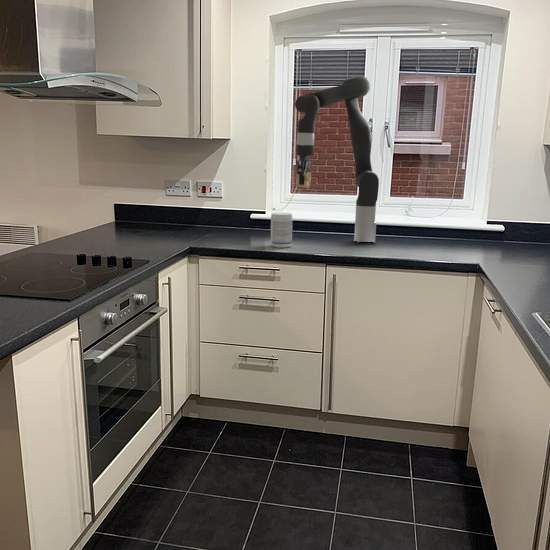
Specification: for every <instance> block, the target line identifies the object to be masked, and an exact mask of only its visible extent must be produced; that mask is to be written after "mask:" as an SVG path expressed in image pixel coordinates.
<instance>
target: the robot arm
mask: <svg viewBox="0 0 550 550" xmlns="http://www.w3.org/2000/svg"><path fill="white" fill-rule="evenodd" d="M370 87H371V84H370V81H369V80H368V78H367V77H365V76H363V75H357V76H353V77H349V78H346V79H344V81H343V84H341V85H337V86H333V87H332V86H331V87H327V88H324V89H321V90H318V91H316V92H312V93H306V94H302V95H300V96H298V97H296V99H295V101H294V107H295V109H296V111H298V112H299V113H303V114H304V116H303V117H302V118H300V119H299V120H298V121H297V133H296V134H297V135H296V147H295V154H296V156H299V159H298V160H297V161H296V163H297V164H296V166H297V167H296V169H297V170H296V175H297V174H298V175H299V185H304V178H305V172H308V173H311V167H312V163H313V161H312V160H311V159H310V157H312V156H314V153H315V152H314V151H315V125H316V120H317V117H318V113H319V110H320V109H322V108H326V107H329V106H331V105H334V104H336V103H339V102H342V101H344V103H345V108H346V112H347V118H348V124H349V131H350V132H349V134H350V141H351V145H352V146H351V147H352V153H353V157H354V162H355V163H354V164H355V183H356V186H357V187H358V193H357V194H358V195H357V198H356V200H355V201H356V202H355V203H356V204H355V216H354V221H355V222H354V236H353V241H354V242H355V241H357V242H356V243H359V242H373V243H376V235H377V234H376V233H377V232H376V231H377V222H376V209H377V201H378V199H379V198H378V197H379V187H380V178H379V177H378V176H379V175H377V174H376V172H374V171H373V167H372V162H371V161H372V160H371V154H372V153H371V152H372V132H371V127H370V124H369V122H368V120H367V118H366V117H365V116H364V115H363V113H362V111H361V109H360V107H359V106H360V105H359V99H360V98H364V97H365V96H366V95H368V93H369V92H370Z"/></svg>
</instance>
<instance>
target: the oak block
mask: <svg viewBox="0 0 550 550" xmlns="http://www.w3.org/2000/svg"><path fill="white" fill-rule="evenodd" d="M311 179H312V172H310V173H308V172H305V178H304V185H299V175H298V174H297V173H296V178H295V180H296V181H295V182H296V183H295V187H296V188H297V187H298V188H311V181H312V180H311Z"/></svg>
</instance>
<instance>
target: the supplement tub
mask: <svg viewBox="0 0 550 550" xmlns="http://www.w3.org/2000/svg"><path fill="white" fill-rule="evenodd" d="M292 245H293V213H291V212H272V213H271V215H270V246H271V247H273V248H279V249H280V248H281V249H282V248H283V249H284V248H285V249H286V248H290V247H292Z"/></svg>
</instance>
